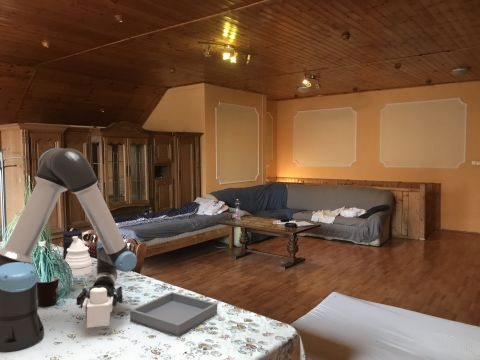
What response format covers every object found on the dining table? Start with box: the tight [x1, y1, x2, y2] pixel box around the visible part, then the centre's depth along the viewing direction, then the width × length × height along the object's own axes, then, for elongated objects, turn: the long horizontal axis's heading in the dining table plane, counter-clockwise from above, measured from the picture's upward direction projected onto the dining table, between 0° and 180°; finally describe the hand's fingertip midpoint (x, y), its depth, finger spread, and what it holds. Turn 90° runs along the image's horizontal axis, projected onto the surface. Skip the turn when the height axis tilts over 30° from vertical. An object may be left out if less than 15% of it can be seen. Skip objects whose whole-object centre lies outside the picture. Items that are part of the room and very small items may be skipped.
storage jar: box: [62, 230, 83, 259], centre depth 217 cm, size 10×10×15 cm
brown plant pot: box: [37, 275, 60, 308], centre depth 155 cm, size 12×9×10 cm
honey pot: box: [65, 236, 93, 277], centre depth 194 cm, size 13×13×18 cm
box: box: [129, 291, 218, 338], centre depth 143 cm, size 22×22×4 cm
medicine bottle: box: [85, 285, 111, 328], centre depth 131 cm, size 7×7×12 cm
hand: (97, 308), depth 127 cm, fingers closed on medicine bottle, 7 cm apart
